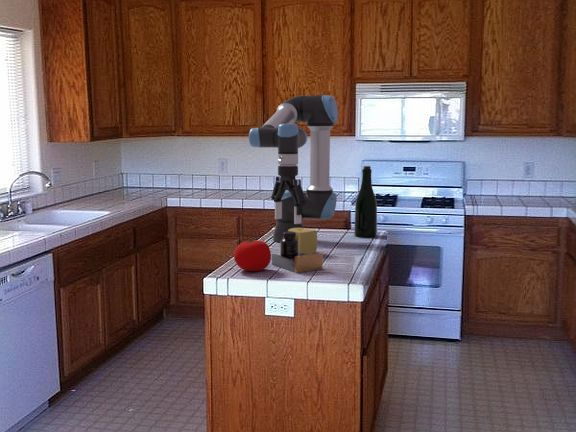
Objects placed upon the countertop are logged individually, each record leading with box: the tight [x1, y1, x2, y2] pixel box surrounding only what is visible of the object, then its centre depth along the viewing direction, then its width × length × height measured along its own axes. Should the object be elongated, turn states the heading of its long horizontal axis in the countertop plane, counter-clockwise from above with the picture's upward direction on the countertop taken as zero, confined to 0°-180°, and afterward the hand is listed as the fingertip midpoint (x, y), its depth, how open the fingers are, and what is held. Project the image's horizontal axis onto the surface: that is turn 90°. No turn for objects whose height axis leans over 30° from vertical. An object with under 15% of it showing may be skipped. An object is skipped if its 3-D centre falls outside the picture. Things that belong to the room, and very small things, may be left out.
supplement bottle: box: [279, 231, 298, 260], centre depth 260 cm, size 7×7×12 cm
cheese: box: [283, 228, 318, 255], centre depth 281 cm, size 10×11×10 cm
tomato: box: [233, 238, 272, 272], centre depth 250 cm, size 12×14×11 cm
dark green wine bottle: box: [353, 165, 378, 239], centre depth 320 cm, size 10×10×33 cm
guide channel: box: [271, 251, 324, 274], centre depth 256 cm, size 17×11×6 cm, turn 32°
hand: (287, 221), depth 260 cm, fingers open, 13 cm apart
